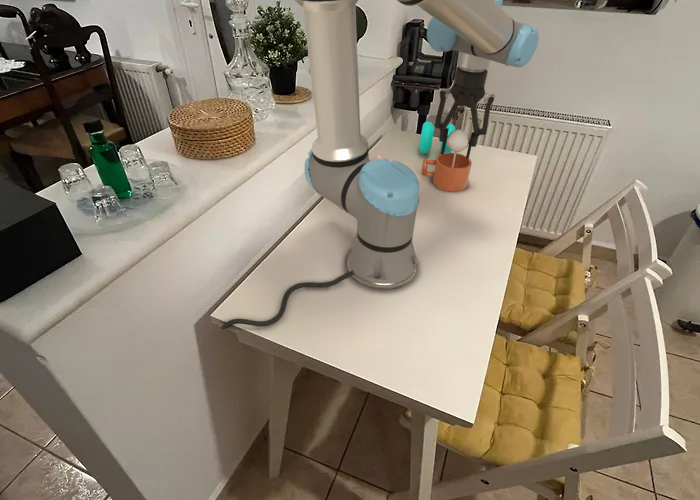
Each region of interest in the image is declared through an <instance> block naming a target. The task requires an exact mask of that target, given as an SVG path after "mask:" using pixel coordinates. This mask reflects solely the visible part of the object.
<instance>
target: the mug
mask: <svg viewBox="0 0 700 500" xmlns="http://www.w3.org/2000/svg"><path fill="white" fill-rule="evenodd" d="M454 153H455V152H451V153H444V154H443V155H442V154H441V153H439V154H438V155H437V156H436V158H435V159H429V158H424V159H423V160H422V164H421V173H420V174H421V176H422V177H429V178H432V184H433V185H434V186H435V187H437V188H438V189H440V190H443V191H447V192H460V191H463V190H464V189H466V187H467V185H468V181H469V177H470V174H471V168H472V165H473V163H472V160H471V158H469V159H466V155H464V154H463V153H462V154H461V153H459V152H456V157H455V162H454V167H453V168H452V163H453V158H454ZM429 165H431V166H434V169H433V171H428V166H429Z"/></svg>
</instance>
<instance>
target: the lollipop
mask: <svg viewBox="0 0 700 500" xmlns="http://www.w3.org/2000/svg"><path fill="white" fill-rule="evenodd" d="M446 141H447V145H448V147H449V149H450V150H452V151H451V152H453V153H454V158H453V163H452V168H453V167H454V162H455V157H456V153H460V152H463V151H465V150H466V149H467V148H468V146H469V141H470V137H469V134H468V133H467V132H466V131H465V130H463V129H455V130H454V131H452V132H451V133H450V134H449V135H448V136H447V139H446Z"/></svg>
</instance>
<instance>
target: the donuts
mask: <svg viewBox="0 0 700 500" xmlns="http://www.w3.org/2000/svg"><path fill="white" fill-rule="evenodd" d="M447 128H449V131H448V135H449V134H450V133H451V132H452V131H454V130H456V127H455V125H454V124H453V123H449V124H448V126H447ZM434 132H435V126H434V124H433V123H432V122H431V121H429V120H428V121H425V122H424V123H423V124H422V127H421V133H420V137H419V146H418V147H419V148H418V151H419V153H420V154H422V155H426V154H428V153H429V152H430V150H431V148H432V145H433V138H434V134H435V133H434ZM442 144H443V142H440V146H439V152H440V153H441V150H442ZM452 152H453V151H452V150H450V149H449V147H448V145H447V142H446V147H445V152H444V153H452Z"/></svg>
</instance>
